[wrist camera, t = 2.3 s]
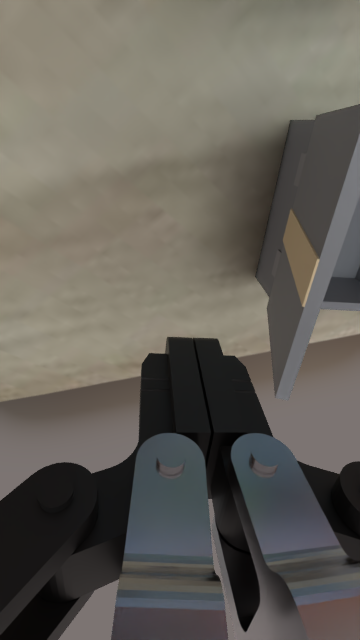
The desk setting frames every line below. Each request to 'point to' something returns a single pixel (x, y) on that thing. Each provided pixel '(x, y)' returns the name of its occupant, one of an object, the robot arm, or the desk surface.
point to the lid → (313, 239)
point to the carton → (356, 253)
